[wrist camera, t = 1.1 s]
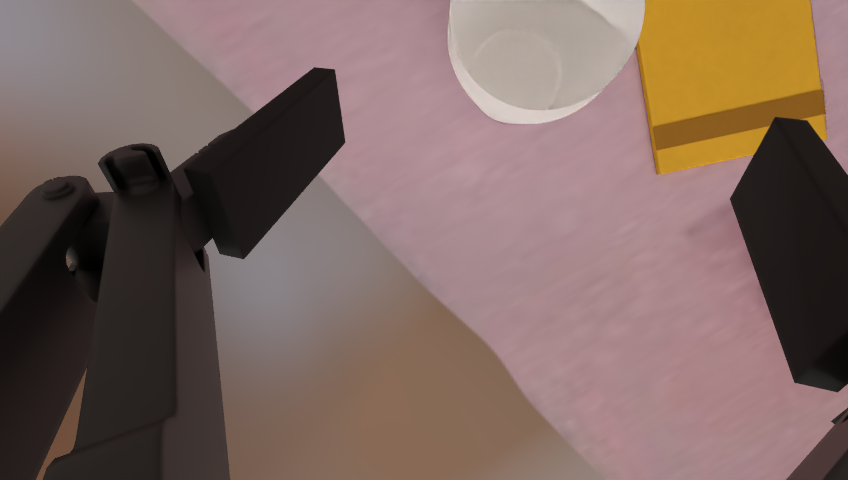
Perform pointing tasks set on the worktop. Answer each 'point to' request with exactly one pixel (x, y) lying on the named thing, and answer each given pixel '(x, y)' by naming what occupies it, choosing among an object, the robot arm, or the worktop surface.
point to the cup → (540, 53)
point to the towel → (725, 76)
